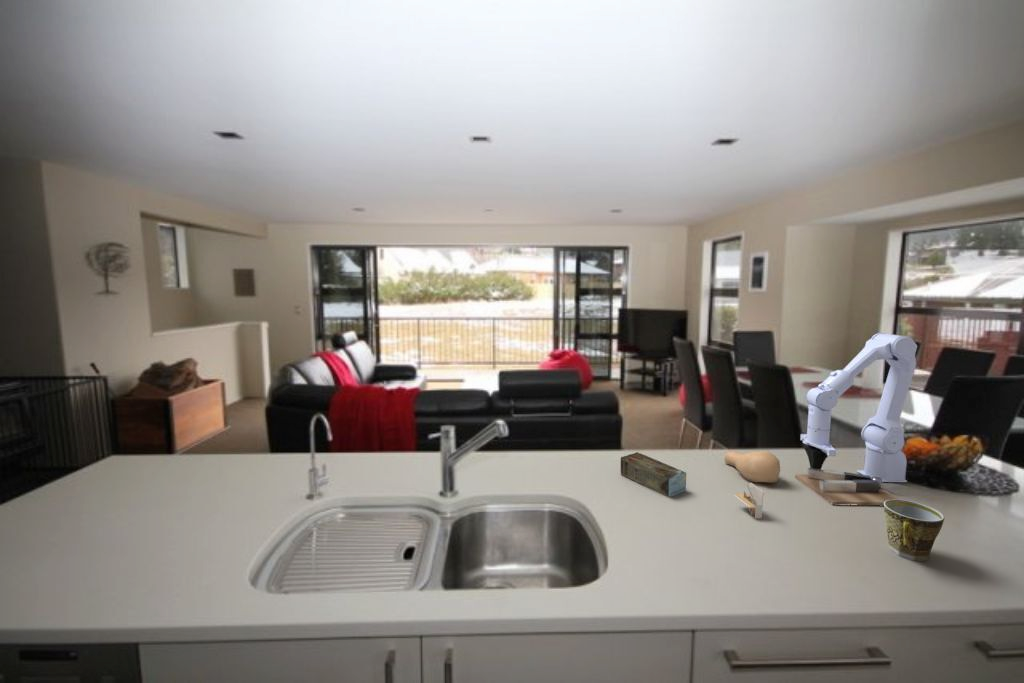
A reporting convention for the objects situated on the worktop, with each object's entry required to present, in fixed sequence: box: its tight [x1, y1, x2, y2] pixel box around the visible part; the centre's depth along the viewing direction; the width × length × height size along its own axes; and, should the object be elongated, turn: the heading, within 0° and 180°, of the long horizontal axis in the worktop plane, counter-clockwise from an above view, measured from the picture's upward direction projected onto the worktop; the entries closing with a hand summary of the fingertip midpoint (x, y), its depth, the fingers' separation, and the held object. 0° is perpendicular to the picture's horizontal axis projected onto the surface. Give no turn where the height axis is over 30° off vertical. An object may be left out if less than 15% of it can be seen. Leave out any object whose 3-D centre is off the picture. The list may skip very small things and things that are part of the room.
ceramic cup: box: [883, 499, 945, 562], centre depth 100 cm, size 13×10×10 cm
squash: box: [723, 450, 781, 483], centre depth 143 cm, size 11×20×9 cm, turn 14°
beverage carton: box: [620, 451, 687, 498], centre depth 138 cm, size 8×19×7 cm, turn 32°
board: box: [794, 473, 902, 507], centre depth 131 cm, size 19×18×1 cm
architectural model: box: [734, 482, 765, 519], centre depth 120 cm, size 3×7×7 cm, turn 5°
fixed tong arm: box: [819, 480, 879, 493], centre depth 129 cm, size 15×2×3 cm, turn 87°
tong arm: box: [806, 467, 883, 489], centre depth 134 cm, size 18×2×3 cm, turn 62°
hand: (815, 470), depth 141 cm, fingers closed
